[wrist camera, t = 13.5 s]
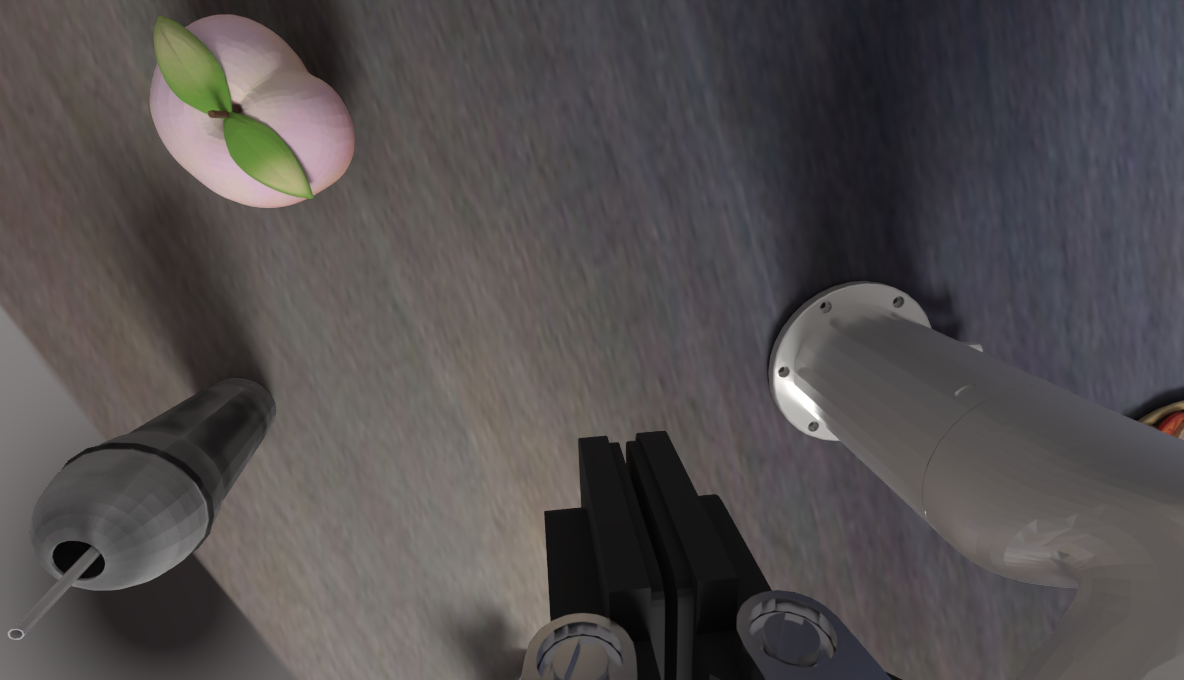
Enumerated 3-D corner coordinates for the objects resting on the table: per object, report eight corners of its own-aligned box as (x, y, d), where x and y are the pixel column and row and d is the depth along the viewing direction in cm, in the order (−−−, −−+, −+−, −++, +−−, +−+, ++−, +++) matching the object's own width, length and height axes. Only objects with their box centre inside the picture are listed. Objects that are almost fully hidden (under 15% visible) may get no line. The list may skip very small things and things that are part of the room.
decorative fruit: (179, 113, 33) (44, 102, 24) (270, 7, 32) (166, -49, 23) (312, 230, 36) (239, 261, 27) (400, 137, 35) (356, 135, 26)
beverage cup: (160, 383, 38) (-189, 615, 20) (259, 341, 38) (3, 534, 19) (224, 468, 41) (-30, 747, 22) (317, 429, 41) (141, 676, 22)
